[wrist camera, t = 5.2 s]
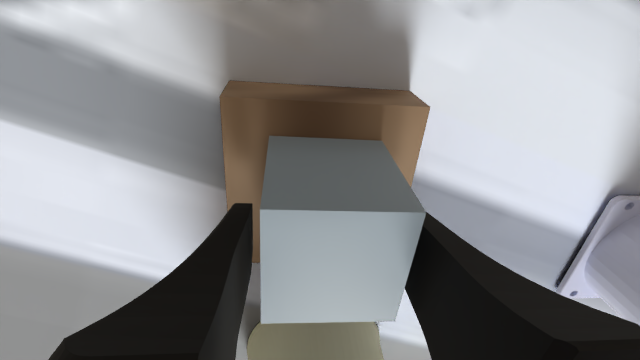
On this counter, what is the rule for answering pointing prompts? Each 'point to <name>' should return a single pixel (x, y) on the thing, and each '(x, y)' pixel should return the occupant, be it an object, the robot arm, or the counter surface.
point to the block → (334, 231)
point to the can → (315, 341)
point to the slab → (310, 129)
